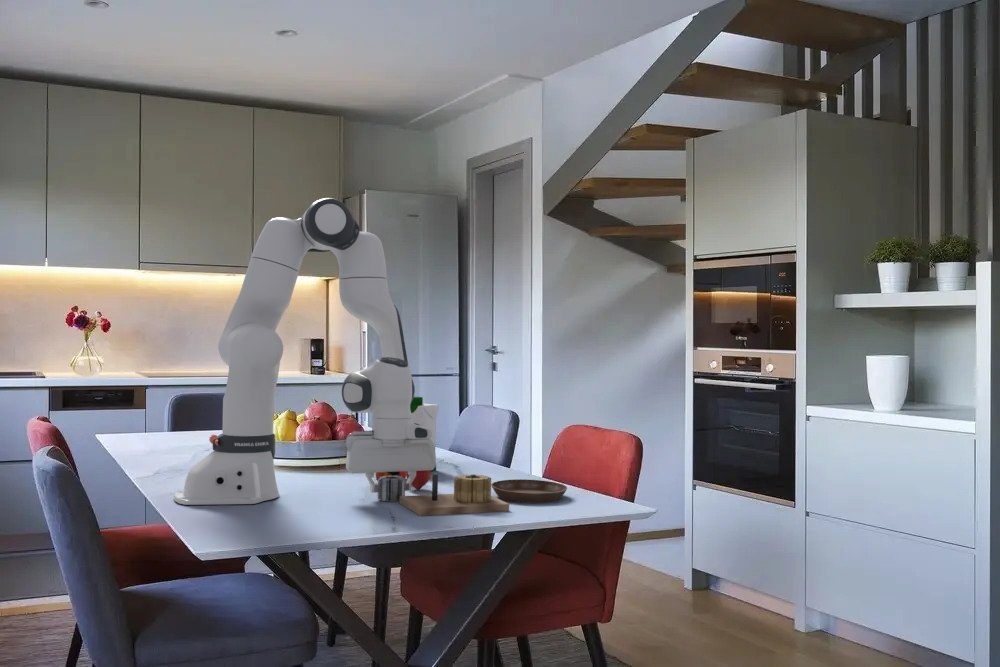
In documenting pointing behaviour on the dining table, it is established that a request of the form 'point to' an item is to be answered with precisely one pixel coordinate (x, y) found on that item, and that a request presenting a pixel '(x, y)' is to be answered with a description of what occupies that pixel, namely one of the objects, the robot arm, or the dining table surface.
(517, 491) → the plant saucer
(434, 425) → the milk carton
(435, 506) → the gear board
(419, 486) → the onion
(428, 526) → the dining table surface
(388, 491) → the steel gear
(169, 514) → the dining table surface
